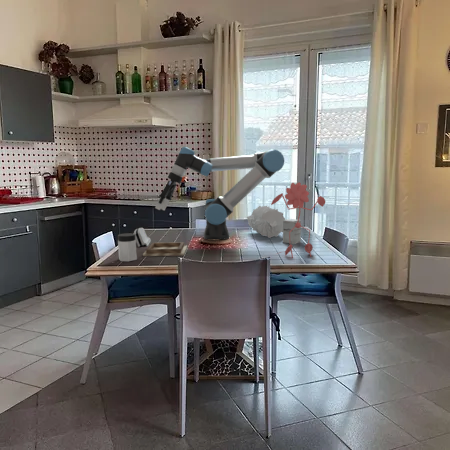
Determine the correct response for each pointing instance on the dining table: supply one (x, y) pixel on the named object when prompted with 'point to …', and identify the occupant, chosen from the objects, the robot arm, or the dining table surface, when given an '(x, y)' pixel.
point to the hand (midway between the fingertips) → (159, 209)
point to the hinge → (141, 237)
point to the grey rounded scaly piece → (266, 221)
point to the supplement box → (294, 234)
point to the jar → (127, 247)
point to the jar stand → (166, 249)
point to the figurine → (297, 198)
